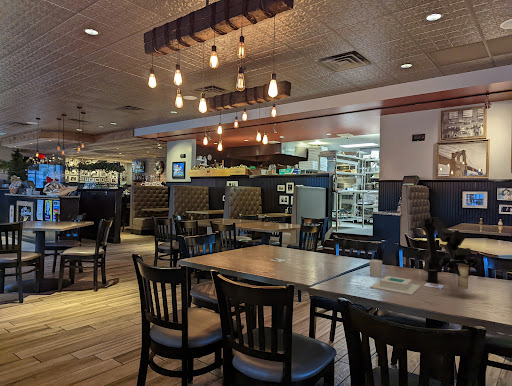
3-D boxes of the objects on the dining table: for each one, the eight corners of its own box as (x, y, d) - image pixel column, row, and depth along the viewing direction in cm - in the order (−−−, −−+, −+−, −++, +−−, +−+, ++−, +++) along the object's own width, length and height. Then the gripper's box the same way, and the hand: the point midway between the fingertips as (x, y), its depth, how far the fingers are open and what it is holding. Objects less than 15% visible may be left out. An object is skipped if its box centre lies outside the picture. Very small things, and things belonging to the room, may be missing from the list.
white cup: (373, 277, 224) (374, 262, 224) (366, 274, 231) (367, 259, 231) (384, 277, 226) (384, 261, 226) (377, 274, 234) (377, 259, 234)
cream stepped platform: (382, 280, 218) (382, 273, 218) (421, 286, 205) (421, 279, 205) (369, 287, 199) (370, 280, 199) (411, 295, 186) (411, 287, 186)
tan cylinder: (458, 286, 187) (458, 263, 187) (468, 287, 184) (469, 264, 184) (457, 287, 183) (457, 265, 183) (467, 289, 181) (468, 266, 181)
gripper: (442, 241, 188) (452, 266, 177) (477, 242, 187) (490, 267, 176) (434, 253, 196) (444, 278, 185) (469, 254, 195) (480, 279, 184)
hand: (464, 275), depth 182 cm, fingers closed on tan cylinder, 5 cm apart
